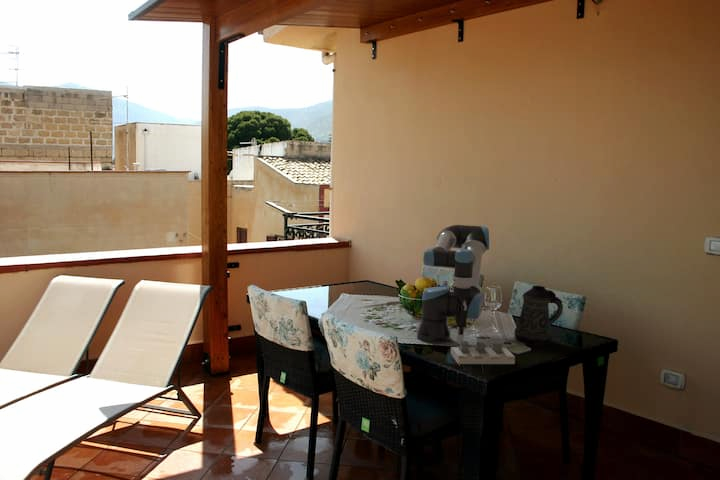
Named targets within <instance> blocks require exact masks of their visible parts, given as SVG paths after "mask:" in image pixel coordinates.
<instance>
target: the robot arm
mask: <svg viewBox="0 0 720 480" xmlns="http://www.w3.org/2000/svg"><path fill="white" fill-rule="evenodd" d="M451 249H456V250H451ZM489 250H490V231H489V228H488V227H487V226H484V225H468V224H453V225H450V226H447V227H444V228H442V229H441V231H440V232H438V234H437V236H436V242H435V244H434V246H433V247H432V248H425V250H424V252H423V258H422V261H423V265H424V266H426V267H431V268H433V267H436V268H450V269H454V275H453V278H452V281H453V290H450V289H449V287H447V286H433V287H432V286H431V287H427V288H425V289H424V290H423V292H422V298H421V302H422V303H421V319H420V320H421V321H420V323H419V326H418V329H417V332H416V338H417V339H418V340H420V341H424V342H428V343H436V344H437V343H447V342H449V341H450V340H451V331H450V328H449V327H450V326H449V324H448V318H454V319H455V323H456V338H455V341H456V342H457V343H460V341H464V337H465V328H466V327H467V320H477V319H479V318H480V316H481V314H482V310H483V304H484V294H483V293H481V290H480V289H479V282H480V281H479V280H480V275H481V274H480V272H481V267H482V266H481V265H482V258H483V256H484V254H485V253H486V251H489Z"/></svg>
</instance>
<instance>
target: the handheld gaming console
mask: <svg viewBox="0 0 720 480" xmlns="http://www.w3.org/2000/svg"><path fill="white" fill-rule="evenodd" d="M497 342H501V343H502V347H505V348H506V349H507V350H508V351H509V352H511V353H512V354H514V355H520V354H523V353H526V352H531V350H532V348H531V347H528V346H524V345H521V344H518V343H514V342H511V341H507V340H503V339H502V340H499V341H497ZM491 345H492V346H491ZM491 345H490V346H491V347H493V342H491Z"/></svg>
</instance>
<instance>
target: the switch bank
mask: <svg viewBox="0 0 720 480" xmlns="http://www.w3.org/2000/svg"><path fill="white" fill-rule="evenodd" d="M459 348H460V346H450V356H451V357H452V358H453V359H454V361H455V362H456V363H457V365H515V363H516V356H515V354H514V353H512V352H509V351H508V350H507V349H506V348H505V347H502V350H501V351H502V353H496V352H495V351H494V350H493V346H485V353H479V352H478V351H477V350H476V346H468V351H469V353H462V352H461V351H460V350H459Z"/></svg>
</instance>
